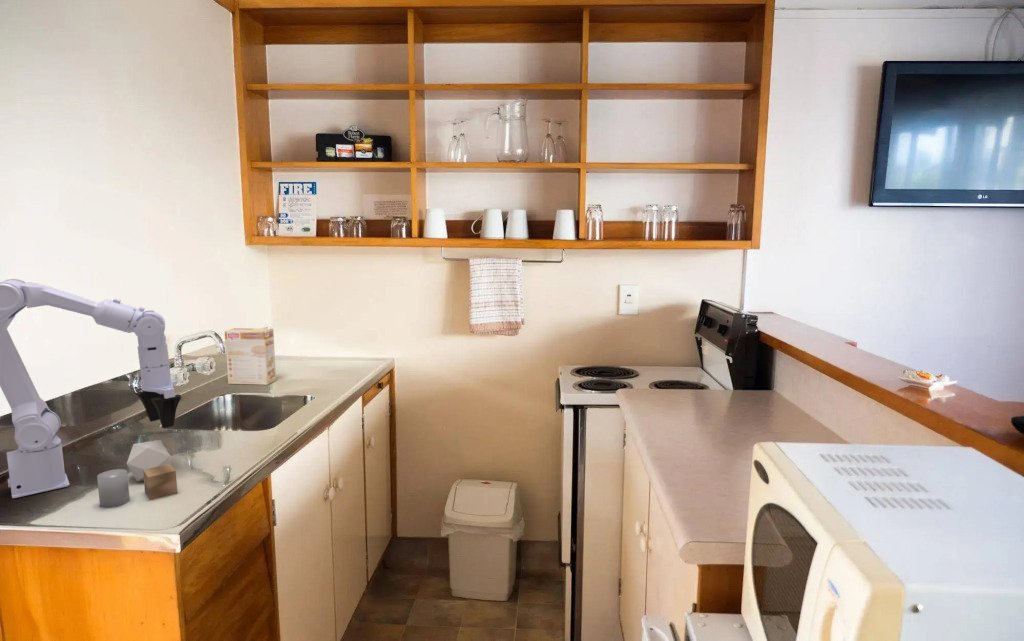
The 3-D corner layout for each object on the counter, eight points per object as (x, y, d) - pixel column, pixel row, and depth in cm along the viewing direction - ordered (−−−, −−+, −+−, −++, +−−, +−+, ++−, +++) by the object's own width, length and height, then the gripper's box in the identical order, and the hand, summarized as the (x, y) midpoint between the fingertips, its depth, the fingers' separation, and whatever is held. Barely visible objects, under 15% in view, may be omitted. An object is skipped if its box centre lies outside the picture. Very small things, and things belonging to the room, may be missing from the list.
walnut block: (149, 500, 122) (147, 477, 121) (145, 492, 126) (143, 469, 125) (177, 493, 125) (175, 470, 124) (171, 486, 129) (170, 463, 128)
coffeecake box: (276, 380, 222) (274, 328, 219) (267, 385, 214) (264, 331, 212) (238, 379, 223) (234, 327, 220) (227, 384, 216) (223, 330, 213)
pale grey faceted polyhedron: (173, 469, 140) (144, 437, 138) (185, 459, 134) (155, 426, 133) (141, 493, 133) (110, 461, 132) (153, 484, 128) (121, 450, 127)
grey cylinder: (101, 510, 117) (99, 481, 117) (98, 501, 121) (95, 473, 120) (131, 502, 121) (129, 474, 120) (127, 494, 124) (124, 467, 124)
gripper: (186, 366, 134) (193, 424, 136) (161, 358, 143) (168, 413, 145) (151, 372, 128) (159, 433, 131) (128, 363, 138) (135, 420, 140)
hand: (161, 423), depth 138 cm, fingers open, 7 cm apart
